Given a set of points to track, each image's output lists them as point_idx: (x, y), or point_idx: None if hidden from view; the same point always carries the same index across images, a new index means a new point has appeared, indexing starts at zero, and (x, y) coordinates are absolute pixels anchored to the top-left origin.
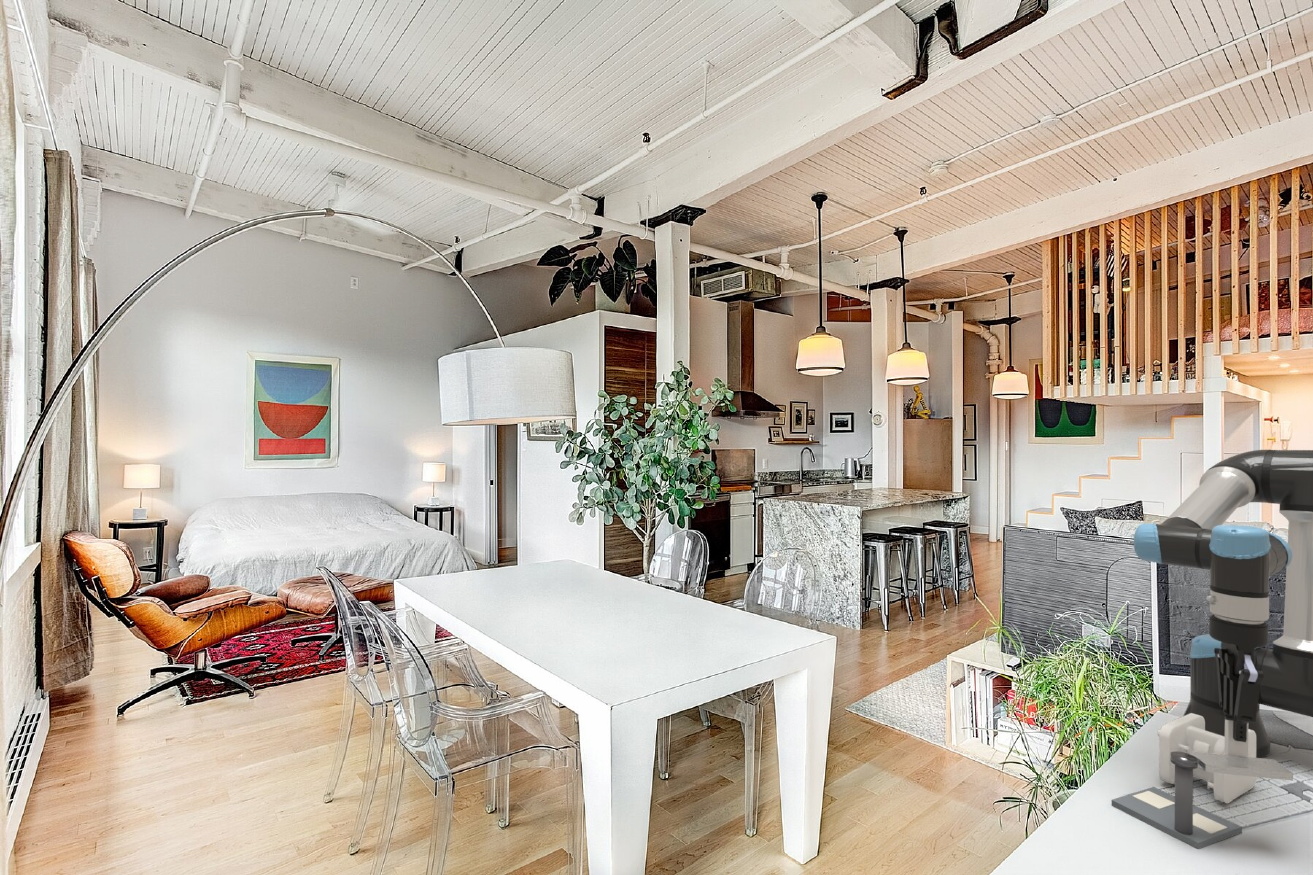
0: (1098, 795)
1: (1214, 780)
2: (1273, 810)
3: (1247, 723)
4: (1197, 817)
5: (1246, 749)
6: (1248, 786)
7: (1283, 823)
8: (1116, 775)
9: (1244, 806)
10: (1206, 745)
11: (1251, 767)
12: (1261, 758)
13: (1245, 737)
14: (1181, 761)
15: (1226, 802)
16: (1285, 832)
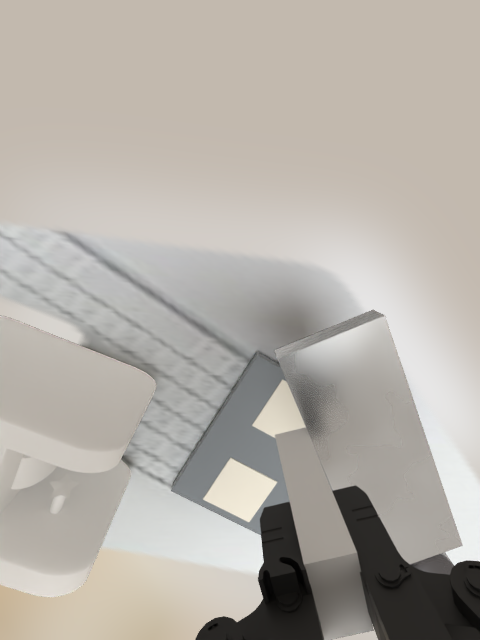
0: (259, 559)
1: (143, 414)
2: (96, 286)
3: (353, 546)
4: (272, 424)
5: (315, 454)
6: (30, 329)
7: (154, 275)
8: (139, 540)
9: (119, 337)
10: (28, 462)
11: (408, 431)
12: (294, 395)
13: (370, 504)
14: None
15: (143, 371)
16: (199, 277)
